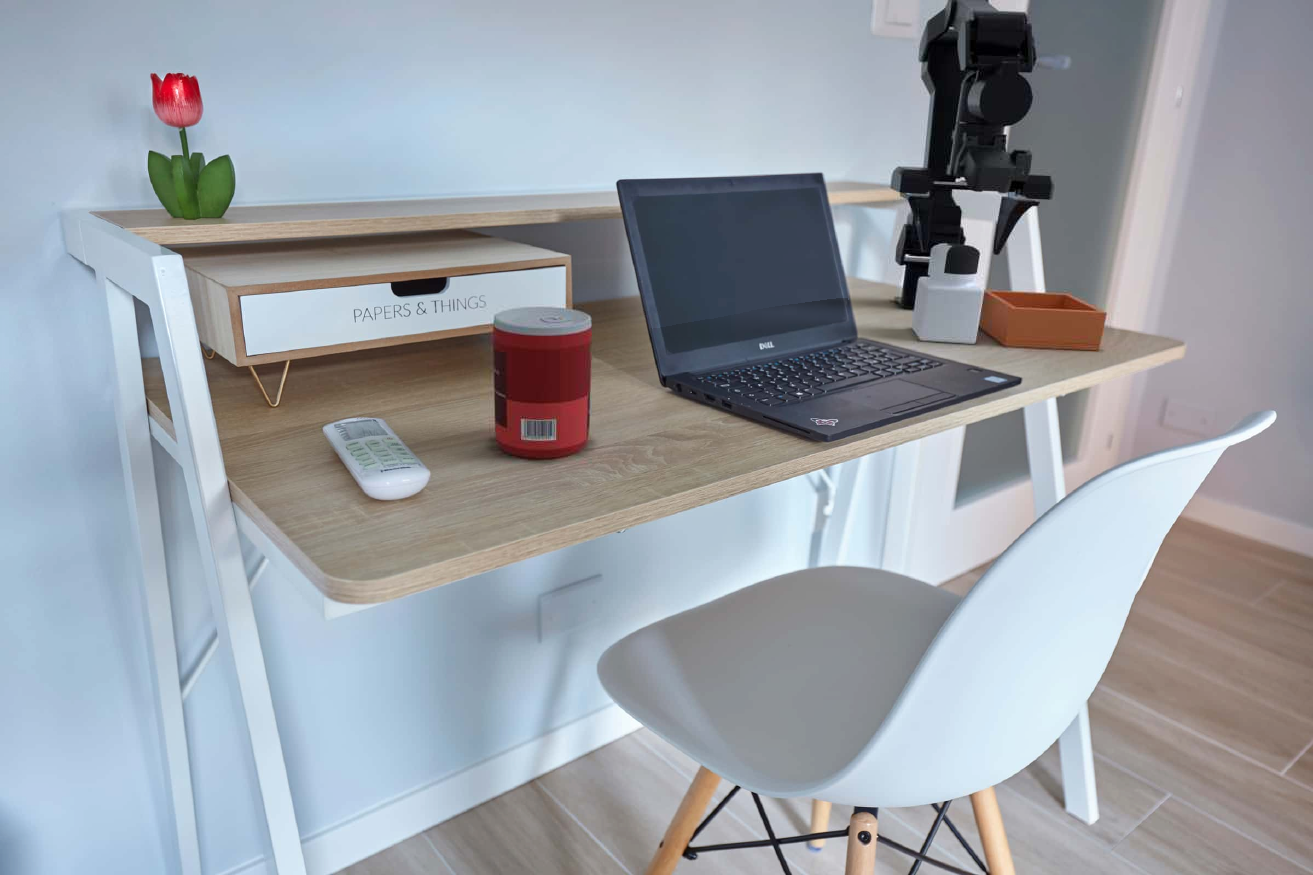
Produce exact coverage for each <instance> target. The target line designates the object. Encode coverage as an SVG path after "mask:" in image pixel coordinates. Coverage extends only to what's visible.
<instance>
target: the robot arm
mask: <svg viewBox="0 0 1313 875" xmlns="http://www.w3.org/2000/svg"><path fill="white" fill-rule="evenodd" d="M918 47H919V48H918V57H917V58H918V62H919V63H921V69H920V70H921V71H920V78H921V80H922V82H923V84H924V87H925V88H926V91H927V92H928V94H929V104H928V114H927V124H926V126H927V127H926V136H925V145H924V155H923V156H924V157H923V166H922V167H921V166H920V167H919V166H901V165H899V166H896V168H895V169H894V170H893V171H892V174H891V180H890V186H889V188H890V189H891V190H893V191H894V192H898V193H899V197H901V198H904V199H905V200H907V202H908V204H909V207H910V211H909V212H908V214H907V216H906V223H904V224H903V226H902V229H901V230H900V235H899V238H898V240H897V243H896V247H895V259H894V261H895V262H896V264H897V265H898V266H900V267H902V266H905V267H904V274H903V280H902V281H903V282H902V288H901V296H894V298H893V299H894V301H895V302H896V303H897V304H898V305H900V307H902V308H904V309H914V307H915V300H916V293H917V286H918V279H919V278H920V277H930V276H929V275H928V269H929V262H930V255H931V249H932V248H933V247H934V246H936V245H939V244H944V243H950V244H962V245H966V244H965V243H966V241H967V237H966V236H965V233H964V232H965V230H964V227H963V226H962V217H963V216H962V215H963V210H962V207H961V206H960V205H957V202H956V201H955V199H954V196H953V190H954V191H971V192H974V193H982V192H996V193H999V194H1007V195H1006V196H1005V195H1002V196H1001V199H1000V205H999V209H998V210H999V211H998V215H997V221H996V227H995V233H994V238H993V239H994V240H993V249H992V250H993V253H992V254H993V255H995V256H999V255H1000V253H1001V252H1002V251H1003V248H1004V246H1005V244H1006V242H1007V241H1008V239H1009V237H1010V235H1011V234H1012V232H1013V230H1014V228H1015V227H1016V225H1018V224H1017V223H1018V222H1019V221H1020V219H1021V218H1022V217H1023V216H1024V214H1025V213H1026V212H1028V210H1030V209H1031V208H1033V207H1039V206H1040V205H1041V201H1037V200H1047V201H1049V200H1050V201H1051V200H1053V196H1054V191H1055V182H1054V181H1055V180H1054V179H1053V177H1052V176H1051V175H1048V174H1044V173H1040V172H1034V171H1033V172H1032V171H1031V168H1032V161H1033V153H1032V152H1031V150H1029V149H1013V150H1012V152H1009V151H1007V147H1006V146H1007V135H1008V134H1006V133H1005V129H1006V127H1010V126H1013V125H1017V123H1019V122H1020V121H1022V120H1023V119H1024V118H1025V117H1026V116H1027V115H1028V113H1029V111H1030V109H1031V107H1032V104H1033V99H1034V95H1033V89H1032V86H1031V84H1030V82H1029V80H1028V79H1027V78H1026V77H1025V76H1023V75H1022V74H1031V73H1032V72H1033V71H1034V70H1033V69H1034V66H1035V64H1036V61H1037V50H1036V41H1035V35H1034V32H1033V27H1032V22H1029V17H1028V15H1027V13H1026V12H1025V11H1011V10H999V9H997V8H996V7H995V6H993V5H992V4H991V3H989V0H947V1H946V4H945V7H944V8H943V9H942V10H940V11H939V12H938V13H936V14H935V15H933V17H931V18H929V19H928V21H927V22H926V24H925V27H924V29H923V33H922V36H921V39H920V42H919V46H918ZM961 178H963V179H961ZM957 180H959V181H957ZM906 255H908V256H906Z"/></svg>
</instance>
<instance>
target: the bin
mask: <svg viewBox="0 0 1313 875" xmlns="http://www.w3.org/2000/svg"><path fill="white" fill-rule="evenodd" d="M983 290H984V295H983V301H982V307H981V313H980V319H979V325H978V328H979V329H981V330H982V331H983V332H985V333H986V334H988V335H989V336H991V337H992V338H993V339H995V340H996V341H997V342H998V343H1000V344H1001V345H1002V346H1004V347H1006V348H1007V347H1011V348H1030V349H1052V350H1054V349H1055V350H1073V351H1092V352H1093V351H1094V352H1096V351H1097V352H1098V351H1100V348H1101V342H1102V338H1103V334H1104V329H1105V325H1106V319H1107V314H1108V313H1107V311H1104V310H1102V309H1100V308H1098V307H1096V306H1095V305H1092V304H1090V303H1088V302H1086V301H1084V300H1082V299H1080V298H1078V297H1076V296H1074V295H1072V294H1070V293H1058V292H1039V291H1036V292H1035V291H1016V290H995V289H993V290H992V289H983Z"/></svg>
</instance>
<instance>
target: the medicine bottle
mask: <svg viewBox="0 0 1313 875" xmlns="http://www.w3.org/2000/svg"><path fill="white" fill-rule="evenodd" d="M980 256H981V252H980V250H979V249H977V248H976V247H975V246H972V245H968V244H964V245H962V244H950V243H944V244H939V245H936V246H934V247H933V248H932V249H931V255H930V257H929V258H930V262H929V269H928V275H929V276H930V277H920V278H919V279H918V286H917V293H916V300H915V307H914V308H913V315H912V322H911V329H912V330H913V332H914V333H915V334H916V336H917V338H918V339H919V340H920V341H922V342H937V343H950V344H951V343H952V344H953V343H954V344H966V345H968V344H969V345H975V344H976V342H977V336H978V331H979V327H978V325H979V319H980V313H981V307H982V301H983V295H984V290H985V289H983V288H982V287H981V286H979V285H978V284H977V283H975V282H974V281H975V280H977V275H978V270H979V263H980Z"/></svg>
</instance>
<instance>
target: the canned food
mask: <svg viewBox="0 0 1313 875" xmlns="http://www.w3.org/2000/svg"><path fill="white" fill-rule="evenodd" d="M492 322H493V323H492V350H493V354H492V355H493V396H494V397H493V398H494V402H493V403H494V404H493V405H494V436H495V440H496V442H497V446H498V447H499V449H500V450H502V451H504V453H507V454H509V455H511V456H514V457H520V458H525V459H535V460H536V459H537V460H538V459H539V460H543V459H544V460H545V459H556V458H564V457H567V456H572V455H574V454H577V453H579V452H580V451H581V450H583V449H584V448H585V447H586V446H587V443H588V441H589V437H590V429H591V428H590V424H591V386H592V382H591V380H592V347H593V346H592V345H593V336H592V335H593V334H592V333H593V330H592V328H593V324H592V317H591V315H589V314H587V313H585V312H583V311H580V310H576V309H572V308H565V307H555V306H525V307H515V308H510V309H509V308H508V309H505V310H502V311H499V312H498V313H496V314H495V315H494V316H493V321H492Z"/></svg>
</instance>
